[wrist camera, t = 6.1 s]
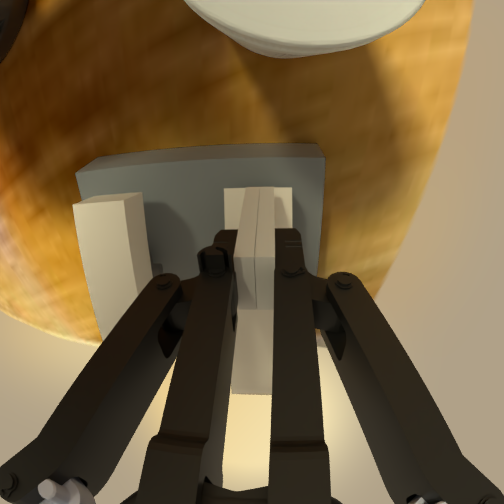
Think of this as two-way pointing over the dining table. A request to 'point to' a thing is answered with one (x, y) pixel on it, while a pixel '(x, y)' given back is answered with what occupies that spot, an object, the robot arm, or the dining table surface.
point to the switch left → (113, 253)
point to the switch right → (256, 321)
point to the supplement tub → (304, 23)
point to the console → (209, 193)
